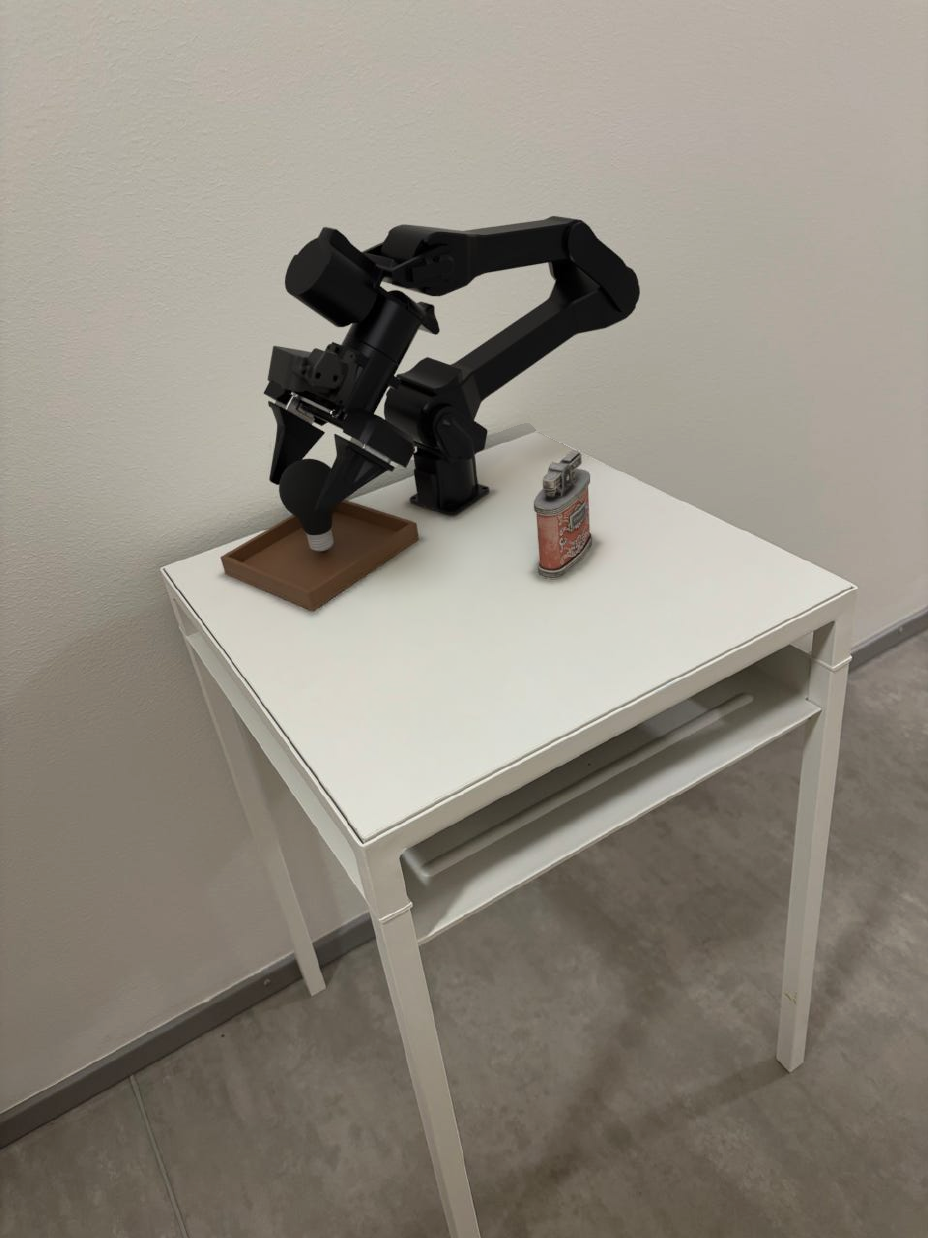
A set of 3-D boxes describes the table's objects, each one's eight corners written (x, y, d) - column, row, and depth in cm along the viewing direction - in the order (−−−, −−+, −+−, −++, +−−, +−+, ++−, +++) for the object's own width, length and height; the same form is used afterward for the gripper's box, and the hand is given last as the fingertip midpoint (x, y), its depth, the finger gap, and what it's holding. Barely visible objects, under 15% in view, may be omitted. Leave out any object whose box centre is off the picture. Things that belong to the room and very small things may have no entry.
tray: (331, 510, 104) (328, 494, 103) (419, 539, 97) (416, 522, 96) (225, 573, 95) (220, 557, 94) (312, 611, 88) (308, 593, 87)
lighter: (562, 582, 88) (557, 485, 82) (530, 574, 89) (523, 479, 84) (599, 540, 93) (597, 447, 87) (568, 534, 95) (564, 441, 89)
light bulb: (292, 544, 98) (270, 455, 92) (347, 532, 99) (330, 443, 93) (297, 572, 93) (275, 480, 87) (355, 559, 94) (337, 468, 88)
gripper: (259, 291, 91) (185, 436, 92) (366, 327, 78) (278, 495, 79) (343, 348, 99) (274, 480, 100) (452, 389, 86) (371, 540, 87)
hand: (295, 496), depth 91 cm, fingers open, 9 cm apart
